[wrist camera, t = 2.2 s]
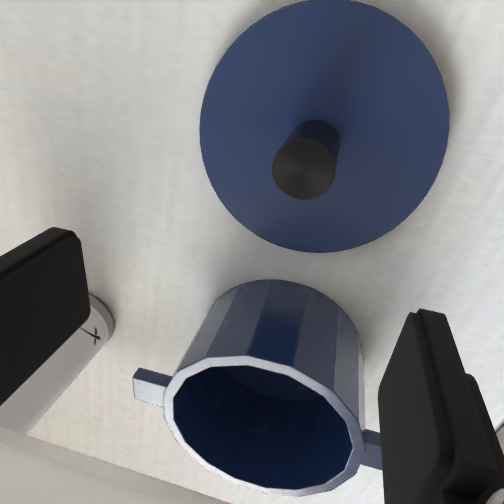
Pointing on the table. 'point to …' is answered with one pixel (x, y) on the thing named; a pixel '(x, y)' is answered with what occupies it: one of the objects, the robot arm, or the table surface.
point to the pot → (270, 392)
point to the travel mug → (57, 372)
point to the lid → (324, 125)
